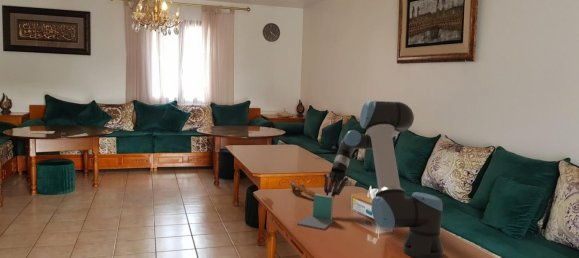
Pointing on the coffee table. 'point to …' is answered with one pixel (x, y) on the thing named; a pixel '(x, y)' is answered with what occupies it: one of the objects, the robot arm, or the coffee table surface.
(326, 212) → the tile
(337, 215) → the coffee table surface
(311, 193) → the brown curved bar
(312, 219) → the pad
